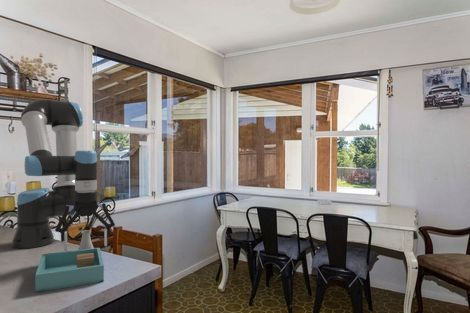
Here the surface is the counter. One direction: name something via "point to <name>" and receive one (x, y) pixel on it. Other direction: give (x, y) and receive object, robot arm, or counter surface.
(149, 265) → the counter surface
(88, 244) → the flask
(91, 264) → the walnut cube
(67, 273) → the tote
